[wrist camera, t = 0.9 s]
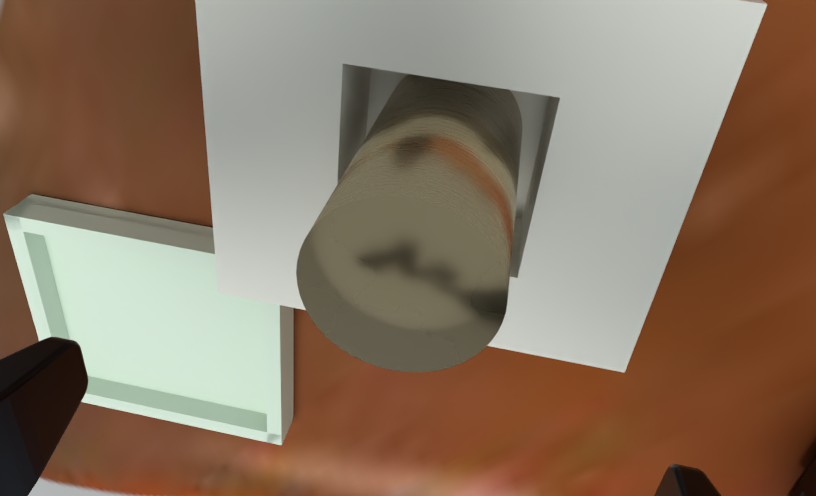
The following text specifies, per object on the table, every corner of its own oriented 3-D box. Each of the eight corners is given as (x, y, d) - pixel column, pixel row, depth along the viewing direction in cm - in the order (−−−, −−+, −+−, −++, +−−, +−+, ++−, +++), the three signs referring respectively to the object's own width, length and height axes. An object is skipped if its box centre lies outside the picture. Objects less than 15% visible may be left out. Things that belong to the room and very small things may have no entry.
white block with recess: (722, -32, 16) (767, 4, 13) (612, 289, 22) (624, 372, 18) (258, -94, 17) (189, -77, 14) (266, 225, 23) (218, 292, 19)
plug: (535, 72, 18) (527, 219, 11) (508, 201, 20) (487, 389, 13) (390, 50, 18) (296, 178, 11) (379, 179, 20) (296, 350, 13)
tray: (293, 242, 23) (279, 266, 22) (293, 418, 28) (281, 445, 27) (31, 194, 24) (3, 213, 23) (76, 371, 29) (54, 395, 28)
